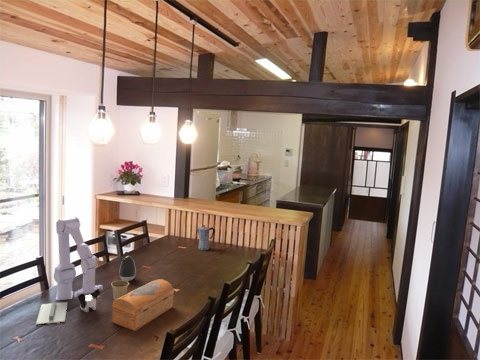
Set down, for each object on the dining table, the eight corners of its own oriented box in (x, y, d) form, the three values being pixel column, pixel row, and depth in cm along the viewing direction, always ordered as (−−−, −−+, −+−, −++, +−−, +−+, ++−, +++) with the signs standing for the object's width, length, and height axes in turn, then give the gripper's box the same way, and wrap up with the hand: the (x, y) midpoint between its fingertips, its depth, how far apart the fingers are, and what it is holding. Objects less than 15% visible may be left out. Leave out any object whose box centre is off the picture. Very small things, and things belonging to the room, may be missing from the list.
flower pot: (122, 293, 210) (122, 278, 209) (131, 299, 205) (132, 284, 204) (107, 298, 203) (107, 283, 202) (116, 304, 197) (117, 288, 196)
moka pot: (193, 247, 306) (195, 223, 304) (211, 246, 311) (213, 223, 308) (195, 250, 297) (197, 226, 295) (214, 250, 302) (216, 226, 299)
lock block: (80, 308, 190) (80, 297, 189) (89, 305, 193) (89, 294, 193) (86, 312, 186) (86, 301, 185) (95, 309, 190) (96, 298, 189)
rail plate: (41, 306, 189) (41, 300, 188) (67, 303, 193) (67, 298, 193) (35, 325, 170) (36, 319, 170) (64, 322, 175) (64, 316, 174)
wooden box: (149, 299, 206) (151, 275, 204) (174, 307, 199) (175, 282, 197) (108, 321, 179) (109, 294, 178) (135, 332, 172) (136, 303, 170)
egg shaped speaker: (114, 280, 228) (115, 256, 226) (127, 275, 237) (128, 252, 235) (126, 284, 223) (128, 260, 221) (139, 279, 232) (140, 255, 231)
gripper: (79, 286, 180) (78, 313, 181) (106, 279, 191) (105, 304, 193) (71, 282, 184) (71, 308, 186) (98, 275, 195) (97, 299, 197)
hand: (88, 306), depth 189 cm, fingers closed on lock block, 5 cm apart
